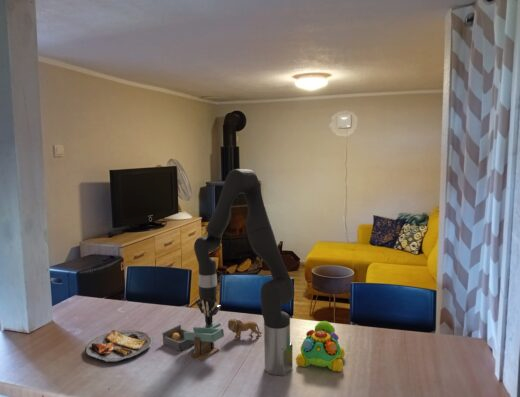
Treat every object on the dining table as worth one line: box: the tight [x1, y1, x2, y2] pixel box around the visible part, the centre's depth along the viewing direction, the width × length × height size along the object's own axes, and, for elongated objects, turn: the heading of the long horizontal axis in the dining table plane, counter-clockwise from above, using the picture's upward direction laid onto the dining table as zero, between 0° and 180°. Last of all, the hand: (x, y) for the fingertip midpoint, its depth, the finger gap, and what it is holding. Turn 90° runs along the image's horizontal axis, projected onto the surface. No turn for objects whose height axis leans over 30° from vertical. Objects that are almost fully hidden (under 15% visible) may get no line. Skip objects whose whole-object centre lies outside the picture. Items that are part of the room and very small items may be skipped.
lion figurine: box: [227, 318, 263, 341], centre depth 172 cm, size 15×5×9 cm, turn 109°
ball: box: [172, 333, 180, 341], centre depth 170 cm, size 3×3×3 cm
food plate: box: [84, 329, 153, 362], centre depth 165 cm, size 25×23×4 cm
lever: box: [184, 322, 225, 343], centre depth 163 cm, size 16×16×3 cm
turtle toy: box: [295, 320, 345, 372], centre depth 155 cm, size 17×23×12 cm
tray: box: [162, 324, 194, 352], centre depth 168 cm, size 10×9×5 cm
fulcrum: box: [189, 337, 220, 362], centre depth 159 cm, size 6×10×8 cm, turn 142°
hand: (208, 323), depth 170 cm, fingers closed
